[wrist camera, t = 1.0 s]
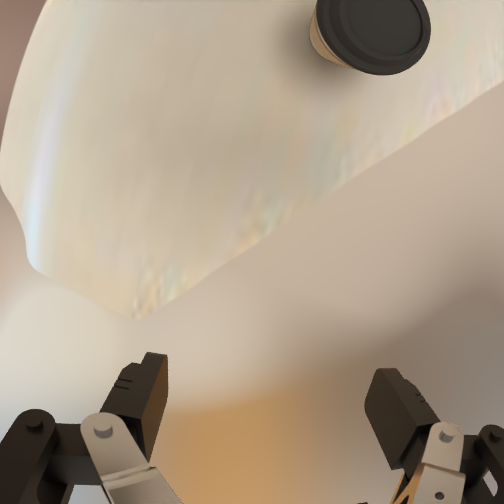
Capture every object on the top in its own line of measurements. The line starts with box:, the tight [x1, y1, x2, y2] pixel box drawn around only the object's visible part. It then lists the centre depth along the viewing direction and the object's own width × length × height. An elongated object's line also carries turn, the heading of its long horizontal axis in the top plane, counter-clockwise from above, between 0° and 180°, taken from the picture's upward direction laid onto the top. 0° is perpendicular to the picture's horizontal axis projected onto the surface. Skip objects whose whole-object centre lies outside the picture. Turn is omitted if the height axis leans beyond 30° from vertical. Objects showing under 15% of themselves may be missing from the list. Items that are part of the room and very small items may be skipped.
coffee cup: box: [309, 0, 431, 75], centre depth 22 cm, size 9×9×15 cm
